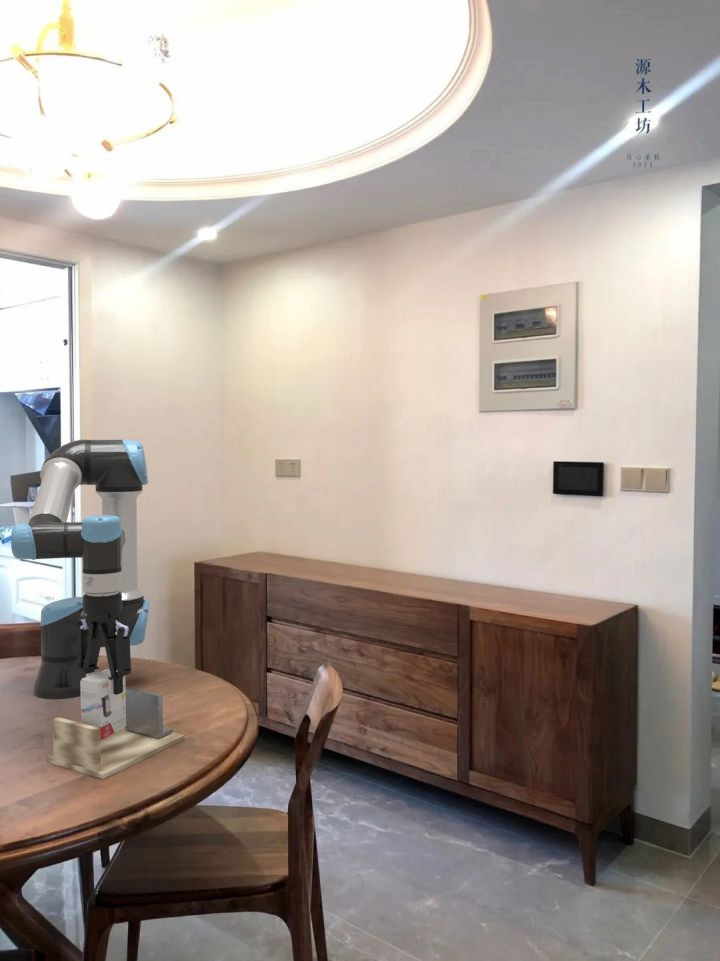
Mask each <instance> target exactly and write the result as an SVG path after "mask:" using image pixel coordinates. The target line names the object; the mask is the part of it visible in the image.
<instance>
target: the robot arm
mask: <svg viewBox="0 0 720 961" xmlns="http://www.w3.org/2000/svg"><path fill="white" fill-rule="evenodd" d="M39 476H40V481H41V483H40V486H39V489H38V491H37V495H36V498H35V499H34V503H33V506H32V510H31V513H30V515H29V519H28V521H26V522H23V523H22V522H21V523H16V524H15V525H13V527H12V530H11V535H10V536H11V537H10V547H11V549H10V550H11V553H12V556H13V557H14V558H15V559H17V560H18V559H19V560H32V561H35V560H47V559H72V558H73V559H74V558H82V592H83V593H84V594H83V596H74V597H67V598H63V599H58V600H54V601H51V602H49V603H48V604H47V603H46V605H44V606H43V607H42V609H41V610H40V611H41V612H40V622H39V626H40V653H41V654H40V656H41V657H40V658H41V663H40V665H39V669H38V672H37V675H36V679H35V682H34V687H33V688H34V690H33V692H34V695H35V696H37V697H40V698H44V699H66V698H73V697H79V696H81V689H80V681H81V680H82V678H85V677H87V676H90V675H92V674H95V673H98V672H100V671H99V668H100V667H99V666H98V662H99V657H100V653H101V652H100V651H101V648H105V654H106V658H107V664H108V667H109V668H108V669H110V673H111V677H108V678H109V679H108V711H110V712H112V711H114V710H117V709H120V708H122V696H121V693H122V692H123V677H124V676H125V677H126V676H127V675H128V676H129V675H131V674H132V662H131V660H132V658H131V646H138V645H141V644H143V643H144V641H145V638H146V631H147V623H148V618H149V617H148V615H149V609H150V608H149V607H150V600H148V599H145V597H144V596H145V595H144V592H143V591H142V590H141V589H139V587H138V586H139V585H138V584H139V583H138V582H139V579H138V578H139V576H138V526H137V524H138V521H137V520H138V517H137V516H138V515H137V513H138V512H137V498H138V496H139V495H141V494H142V492H143V486H146V485H148V484H149V477H148V468H147V463H146V456H145V450H144V446H143V444H142V443H141V442H140V441H138V440H134V439H124V438H122V439H77V440H74V441H70V442H67V443H65V444H63V445H61V446H60V447H58V448H57V449H55V450H53V452H51V454H49V455H48V456H47V458H46V459H45V460H44V461H43V464H42V466H41V468H40V472H39ZM85 485H87V486H95V493H96V494H97V495H98V496H99V497H100V498H101V513H102V514H101V515H100V514H99V515H89V516H85V517H84V518H83V519H82V521H75V522H73V521H70V522H68V518H69V515H70V514H69V513H70V510H71V505H72V501H73V497H74V494H75V490H76V489H78V487H79V486H85ZM116 671H117V672H116Z"/></svg>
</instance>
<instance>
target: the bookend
mask: <svg viewBox="0 0 720 961" xmlns="http://www.w3.org/2000/svg"><path fill="white" fill-rule="evenodd" d="M163 698H164V696H163V694H161V693H158V692H153V691H148V690H144V689H140V688H134V687H130V686H128V687H126V726H125V730H129V731H133V732H137V733H140V734H144V735H148V736H152V737H156V738H160V737H163V736H165V735H167V734H169V733H171V732H173V733H174V729H173V728H171V727H167V726H164V720H163V719H164V718H163V717H164V713H163V710H164V708H163V701H164V700H163Z"/></svg>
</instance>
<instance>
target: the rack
mask: <svg viewBox="0 0 720 961" xmlns="http://www.w3.org/2000/svg"><path fill="white" fill-rule="evenodd" d="M52 720H53V722H52V723H53V724H52V725H53V729H52V730H53V731H52V732H53V754H51V755H48V756H46V763H50V764H52V765H56V766H59V767H63V768H65V769H69V770H72V771H75V772H78V773H81V774H85V775H87V776H90V777H94V778H97V779H100V780H105V779H108V777H111V776H113V775H115V774H117V773H119V772H121V771H123V770H126V769H127V768H129V767H132V766H133V765H135V764H137V763H139V762H141V761H144V760H145V759H148V758H150V757H152V756H154V755H156V754H159V753H160V752H162V751H164V750H166V749H168V748H171V747H173V746H174V745H177V744H179V743H181V742H183V741H185V735H184V734H181V733H177V732H174V731H173V732H171V733H169V734H167V735H165V736H163V737H160V738H156V737H152V736H148V735H144V734H140V733H137V732H133V731H129V730H125V727H124V728H122V729H120V730H119V731H117V732H115V733H113V734H111V735H110V736H108V737H106V738H105V739H103V740H101V736H100V728H98V727H94V726H90V725H86V724H83V723H81V722H77V721H74V720H71V719H67V718H63V717H60V716H57V717H55V718H53V719H52Z"/></svg>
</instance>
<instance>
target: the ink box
mask: <svg viewBox="0 0 720 961" xmlns="http://www.w3.org/2000/svg"><path fill="white" fill-rule="evenodd" d="M116 672H117V671H116ZM108 677H111V673H110V669H109V668H107V669H105V668H104V669H103V670H101V671H99V672H98V673H95V674H92V675H90V676H87V677H85V678H82V680H81V681H80V689H81V695H80V723H83V724H86V725H90V726H94V727H98V728H100V736H101V740H103V739H105V738H106V737H108V736H110V735H111V734H113V733H115V732H117V731H119V730H120V729H122V728H124V727H125V726H126V688H127V687H126V675H125V676H124V677H123V692H122V693H121V696H122V708H120V709H117V710H114V711H112V712H110V711H108V679H109V678H108Z"/></svg>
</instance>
